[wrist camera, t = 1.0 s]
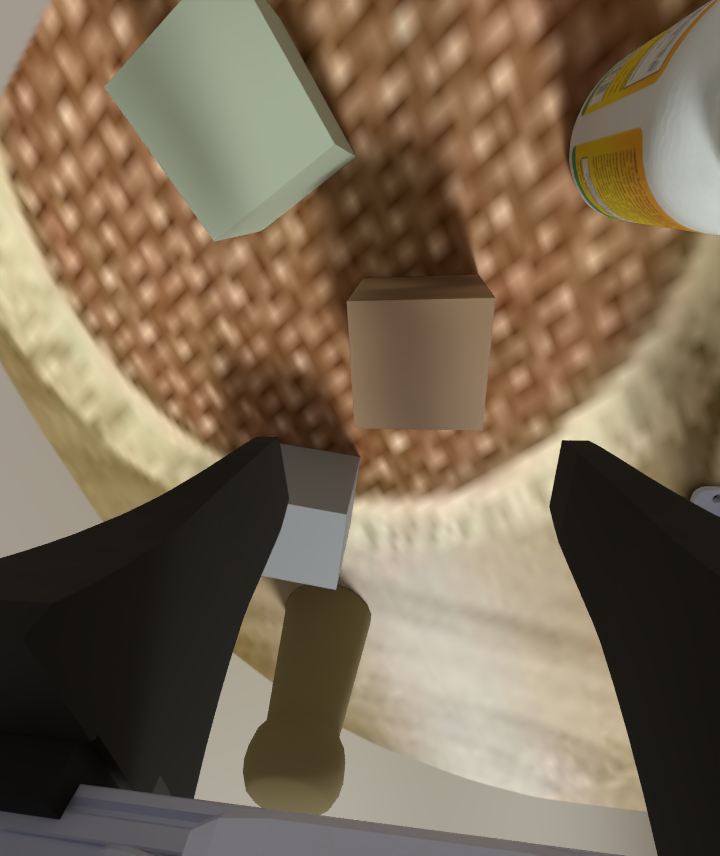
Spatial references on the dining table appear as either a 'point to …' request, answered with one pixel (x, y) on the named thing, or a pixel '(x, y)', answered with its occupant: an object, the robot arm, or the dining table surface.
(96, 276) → the dining table surface
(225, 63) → the sage green block
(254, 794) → the olive brown rounded piece
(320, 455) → the slate grey block
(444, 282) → the walnut block
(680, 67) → the supplement bottle
